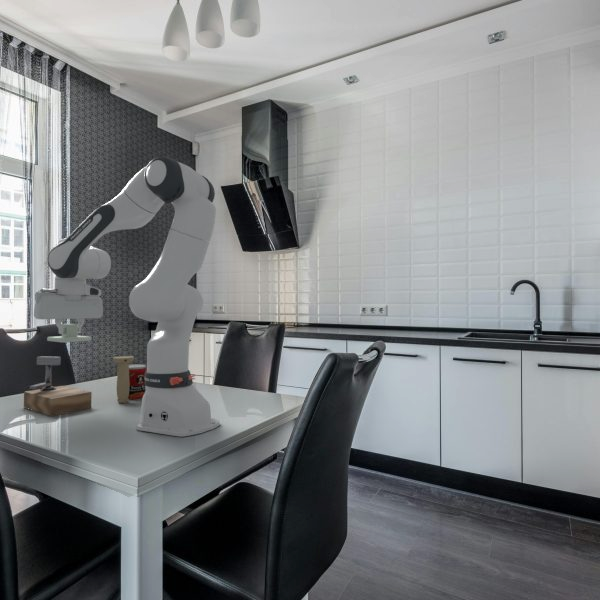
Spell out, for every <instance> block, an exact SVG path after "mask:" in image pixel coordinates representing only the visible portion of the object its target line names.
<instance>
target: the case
mask: <svg viewBox="0 0 600 600" xmlns="http://www.w3.org/2000/svg"><path fill="white" fill-rule="evenodd" d="M24 407H25V408H24ZM23 408H24V409H26V408H29V409H28V410H30V409H32V410H31V411H33V410H35V411H34V412H36V411H38V412H37V413H39V412H41V413H40V414H43V415H46V414H47V415H48V416H49V415H50V416H49V417H53V416H58V415H63V414H64V415H65V414H67V413H73V412H77V411H83V410H87V409H91V408H92V391H90V390H85V389H81V388H80V389H79V388H76V387H75V388H74V387H70V386H66V385H58V386H54V389H51V390H42V388H38V389H32V390H26V391H23ZM47 415H46V416H47Z"/></svg>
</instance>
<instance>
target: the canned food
mask: <svg viewBox="0 0 600 600" xmlns="http://www.w3.org/2000/svg"><path fill="white" fill-rule="evenodd" d="M146 371H147V364H139V363H138V364H136V363H135V364H134V363H133V364H129V382H130V384H129V385H130V386H129V387H130V388H129V396H128V398H129V399H128V400H140V399H142V398H143V395H144V393H145V390H146V385H145V372H146Z"/></svg>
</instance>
